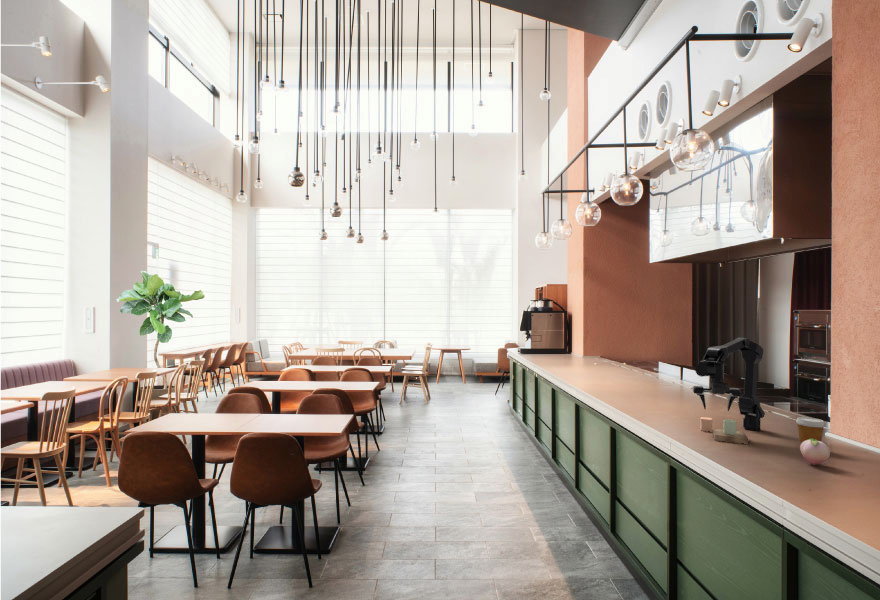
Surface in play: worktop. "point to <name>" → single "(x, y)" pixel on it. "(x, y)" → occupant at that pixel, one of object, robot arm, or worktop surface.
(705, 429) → the terracotta block
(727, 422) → the green block
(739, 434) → the walnut base
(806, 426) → the disposable coffee cup
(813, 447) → the decorative fruit
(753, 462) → the worktop surface
